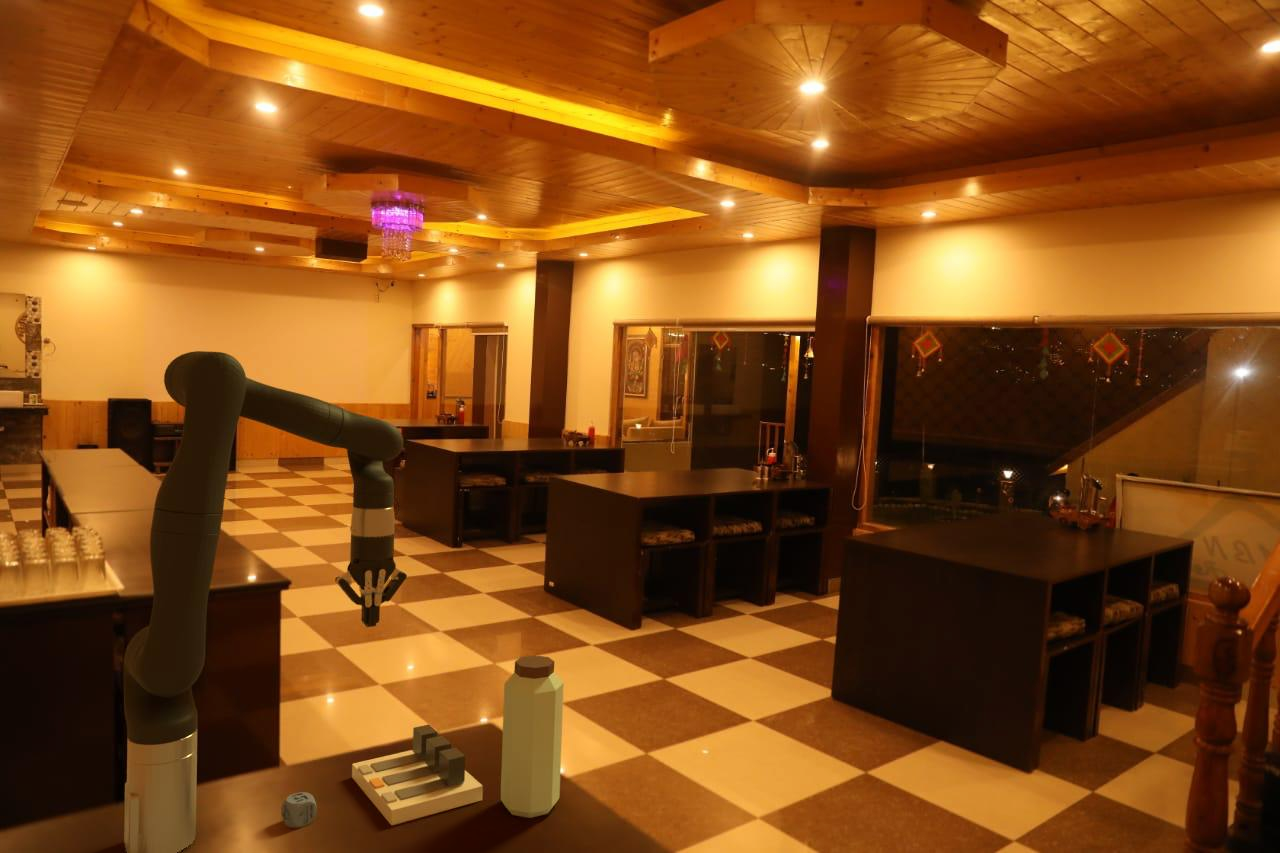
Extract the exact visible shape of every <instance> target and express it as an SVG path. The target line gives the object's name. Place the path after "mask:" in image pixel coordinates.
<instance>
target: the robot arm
mask: <svg viewBox="0 0 1280 853" xmlns="http://www.w3.org/2000/svg"><path fill="white" fill-rule="evenodd" d="M164 371H165V372H164V376H163V382H164V388H165V390H166V392H167V395H169V397H170V399H172V400H173V401H174V402H175V403H177V405H180V406H181V407H183V408H184V416H183V417H184V418H183V426H182V427H183V428H182V434H181V438H180V443H179V446H178V449H177V452H176V453H175V456H174V458H173V460H172V462H171V464H170V466H169V467H168V469H167V471H166V473H165V476H164V477H163V479H162V482H161V483H160V486H159V487H158V488H159V489H158V491H157V493H156V497H155V502H154V508H153V513H152V522H151V527H150V534H149V535H150V536H149V555H150V556H149V557H150V566H151V567H150V568H151V578H152V588H153V600H152V604H153V605H152V610H151V616H150V620H149V625H148V626H145V627H143V628H142V629H141V630H139V631H138V632H136V633H135V635H133V637H132V638H131V640H130V641H129V643H128V644H127V647H126V650H125V653H124V659H123V706H124V707H123V708H124V717H125V720H126V727H127V744H126V745H127V749H126V750H127V755H126V756H127V757H126V759H127V760H126V764H127V766H126V782H125V783H124V820H123V821H124V826H123V827H124V828H123V830H124V831H123V832H124V833H123V835H124V836H123V844H125V845H124V849H125V848H126V849H125V852H127V853H177V852H178V853H180V852H182V851H181V850H183V849H184V848H186V847H187V848H189V847H190V846H191V845H192V844H193V843H194V842H195V840H196V838H195V837H196V835H197V834H196V833H197V832H196V828H197V780H198V779H197V775H198V774H197V770H198V768H197V767H198V766H197V765H198V723H199V722H198V721H199V718H198V710H197V707H196V704H195V700H194V696H193V692H192V691H193V690H192V686H193V685H194V684H195V683H196V681H197V680H198V678H199V676H200V675H201V673H202V670H203V667H204V665H205V659H206V638H207V636H206V633H207V611H208V610H207V609H208V600H209V593H210V589H211V584H212V578H213V575H214V574H213V573H214V568H215V562H216V557H217V556H216V555H217V549H218V544H219V539H220V534H221V528H222V527H221V526H222V520H223V513H224V506H225V495H226V490H227V489H226V488H227V484H228V477H229V469H230V462H231V454H232V449H233V443H234V439H235V436H236V431H237V427H238V423H239V419H240V417H241V418H245V419H248V420H252V421H255V422H258V423H260V424H265V425H267V426H270V427H273V428H274V429H279V430H281V431H283V432H286V433H288V434H292V435H294V436H297V437H299V438H302V439H306V440H308V441H311V442H315V443H318V444H321V445H323V446H326V447H332V448H339V449H343V450H345V449H346V453H347V454H346V455H347V459H348V465H349V468H350V469H349V470H350V473H351V477H352V482H353V493H352V494H353V496H352V497H353V499H352V500H353V502H352V513H351V521H350V529H349V530H350V554H349V555H350V558H349V563H348V565H347V571H346V572H345V573H343V574H342V575H341V576H337V577H335V580H334V581H335V583H336V585H338V587H339V588H340V589H341V590H342V592H344V594H346V597H348V599H350V601H351V602H352V603H354V604H355V605H357V606H361V622H362V624H364V626H365V627H366V628H372V627H373V628H374V627H377V624H378V623H379V622H380V613H381V612H380V611H381V608H380V607H381V605H382V604H383V603H387V602H390V601H391V599H393V597H394V596H395V594H396V593H397V591H398V590H399V589H400V587H401V586H402V585H403V583H404V581H405V580H406V579H407V578H408V577H407V576H408V575H407V574H406V573H405V572H404V571H401V570H399V569H398V568H397V565H396V562H395V560H394V557H395V556H394V555H395V553H394V552H395V550H394V549H395V518H396V517H395V511H394V505H395V504H394V501H395V500H394V499H395V496H394V495H395V492H394V491H395V483H394V479H393V477H392V476H391V475H389V473H387V472H386V470H385V469H384V465H383V464H384V463H383V462H388V461H392V460H393V459H395V458H397V457H398V456H399V455H400V454H401V452H402V450H403V448H404V438H403V435H402V433H401V431H400V429H399V428H398V427H396V426H395V425H394V424H392V423H390V422H388V421H385V420H382V419H378V418H375V417H372V416H368V415H364V414H360V413H355V412H352V411H350V410H347V409H345V408H343V407H340V406H338V405H336V404H333V403H330V402H327V401H325V400H322V399H319V398H316V397H312V396H309V395H305V394H302V393H300V392H299V393H298V392H295V391H291V390H287V389H282V388H278V387H276V386H272V385H269V384H265V383H262V382H259V381H256V380H253V379H251V378H248V377H247V376H246V372H245V370H244V367H243V366H242V364H241V362H239V360H238V359H237V358H236V357H234V356H233V355H231V354H229V353H226V352H221V351H220V352H219V351H203V350H197V351H189V352H186V353H183V354H180V355H178V356H177V357H175V358H174V359H173V360H172V361H170V362H169V364H168V365H167V367H166V369H165V370H164ZM389 578H390V580H389ZM352 579H353V580H354V583H356V584H357V586H359V587H358V588H359V589H358V590H359V593H360V596H359V595H358V594H357V592H356V591H355V589H353V587H352V586H351V585H352V583H353V581H352ZM388 580H389V582H388ZM387 582H388V583H387ZM386 583H387V584H386ZM385 584H386V586H385ZM384 586H385V587H384ZM193 841H194V842H193ZM190 844H191V845H190ZM189 845H190V846H189ZM188 846H189V847H188ZM187 848H186V849H187ZM184 850H185V849H184ZM184 850H183V851H184ZM179 851H180V852H179Z"/></svg>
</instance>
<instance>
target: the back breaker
mask: <svg viewBox="0 0 1280 853" xmlns="http://www.w3.org/2000/svg"><path fill="white" fill-rule="evenodd" d="M412 730H413V731H412V734H413V735H412V750H413V752H414V753H415V754H416V755H417V756H418V757H419V758H420V759H426V739H429V738H433V737H438V731H437V730H436V729H435V728H434V727H433V726H431V725H430V724H425V725H419V726H415V727H413V729H412Z"/></svg>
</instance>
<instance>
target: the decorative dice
mask: <svg viewBox="0 0 1280 853" xmlns="http://www.w3.org/2000/svg"><path fill="white" fill-rule="evenodd" d="M317 809H318V808H317V802H316V799H315V798H314V796H313V794H312V793H309V792H306V791H305V792H304V791H302V792H301V791H299V792H295V793H292V794H290V795H288V796H287V797H286V799H285V800H283V803H282V804H281V807H280V812H281V819H282V822H283V823H284V825H285V826H286V827H288V828H291V829H298V828H303V827H307V826H308V825H309V824H311V823H312V822H313V820H315V818H316V815H317Z"/></svg>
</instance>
